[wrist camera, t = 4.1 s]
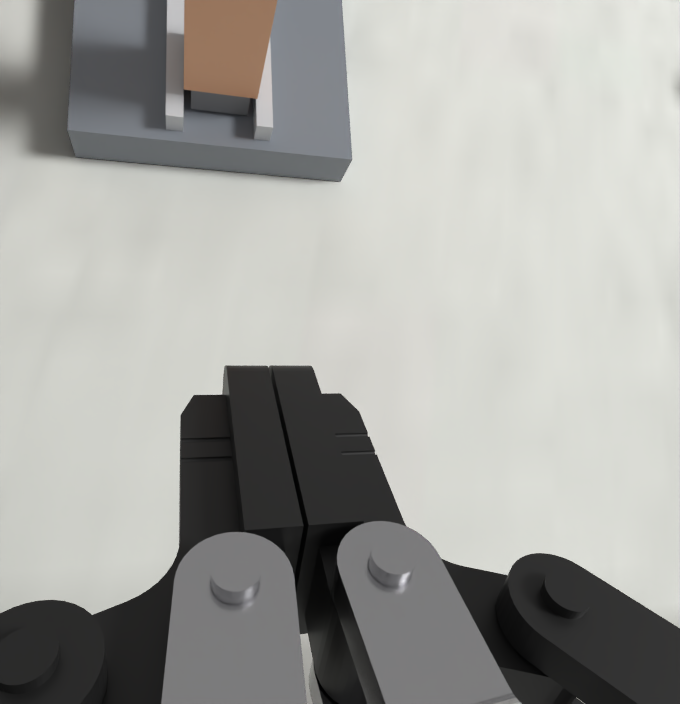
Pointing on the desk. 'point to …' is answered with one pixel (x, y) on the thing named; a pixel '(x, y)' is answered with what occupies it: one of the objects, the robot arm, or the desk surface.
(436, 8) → the desk surface
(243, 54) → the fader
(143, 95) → the fader console
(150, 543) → the desk surface
